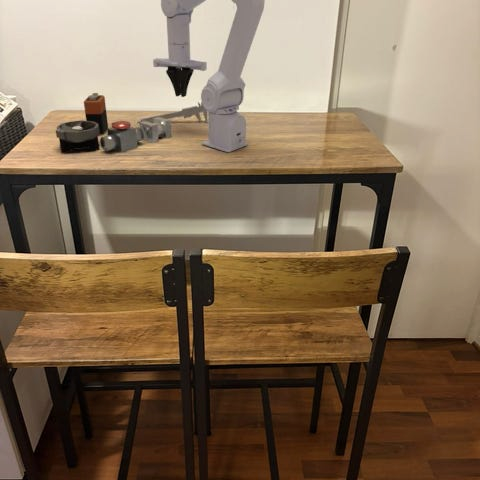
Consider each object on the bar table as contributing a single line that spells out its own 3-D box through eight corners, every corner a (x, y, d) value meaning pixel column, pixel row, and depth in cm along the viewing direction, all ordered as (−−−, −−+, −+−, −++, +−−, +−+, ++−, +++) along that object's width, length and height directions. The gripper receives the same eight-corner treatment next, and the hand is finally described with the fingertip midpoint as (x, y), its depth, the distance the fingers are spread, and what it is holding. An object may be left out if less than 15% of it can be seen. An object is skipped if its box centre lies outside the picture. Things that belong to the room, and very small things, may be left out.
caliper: (207, 122, 146) (207, 100, 143) (207, 123, 145) (207, 101, 142) (137, 123, 144) (135, 101, 141) (136, 124, 143) (135, 102, 140)
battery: (87, 134, 133) (82, 97, 128) (93, 127, 139) (88, 91, 134) (103, 134, 133) (99, 97, 128) (108, 127, 139) (104, 91, 134)
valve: (112, 155, 119) (109, 130, 116) (99, 150, 122) (96, 126, 119) (146, 144, 127) (144, 121, 124) (134, 140, 129) (131, 117, 126)
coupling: (159, 133, 135) (158, 116, 133) (171, 136, 133) (170, 120, 131) (140, 139, 130) (139, 122, 128) (153, 143, 128) (151, 125, 126)
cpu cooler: (97, 118, 127) (99, 129, 119) (99, 139, 130) (102, 152, 122) (55, 121, 124) (55, 133, 116) (59, 142, 127) (59, 155, 119)
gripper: (146, 43, 125) (150, 96, 132) (199, 47, 122) (200, 101, 129) (158, 39, 131) (161, 91, 138) (209, 43, 128) (209, 95, 135)
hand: (181, 95), depth 134 cm, fingers closed
